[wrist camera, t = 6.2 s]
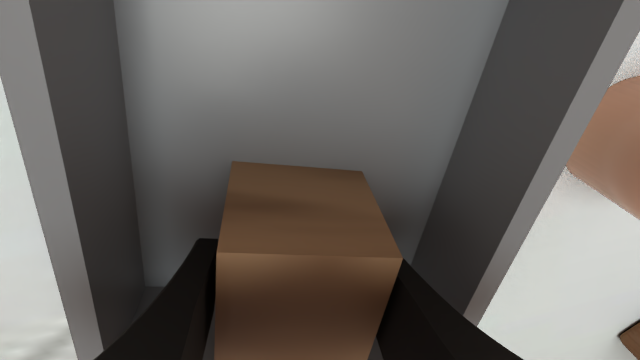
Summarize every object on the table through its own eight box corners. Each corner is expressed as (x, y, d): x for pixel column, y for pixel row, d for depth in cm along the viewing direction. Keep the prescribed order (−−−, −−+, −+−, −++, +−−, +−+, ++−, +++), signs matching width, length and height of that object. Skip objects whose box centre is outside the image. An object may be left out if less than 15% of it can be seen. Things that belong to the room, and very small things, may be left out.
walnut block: (339, 265, 17) (364, 368, 12) (228, 262, 16) (214, 372, 11) (362, 171, 14) (403, 258, 10) (232, 161, 13) (216, 252, 9)
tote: (406, 289, 19) (446, 380, 15) (133, 285, 17) (87, 394, 12) (567, -132, 11) (764, -196, 7) (58, -271, 8) (-165, -528, 4)
